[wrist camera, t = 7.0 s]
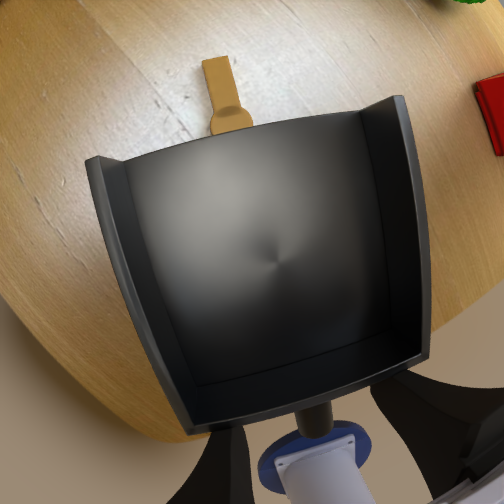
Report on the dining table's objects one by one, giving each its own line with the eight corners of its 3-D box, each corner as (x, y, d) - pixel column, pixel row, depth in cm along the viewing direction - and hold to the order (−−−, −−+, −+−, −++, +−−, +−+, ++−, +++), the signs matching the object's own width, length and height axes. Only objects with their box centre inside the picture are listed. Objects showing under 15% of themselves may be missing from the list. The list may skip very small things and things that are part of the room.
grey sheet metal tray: (395, 370, 14) (424, 401, 11) (207, 428, 13) (208, 472, 10) (363, 111, 11) (403, 94, 8) (115, 165, 10) (83, 160, 7)
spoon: (256, 141, 16) (257, 140, 15) (215, 151, 15) (215, 149, 15) (234, 57, 14) (234, 53, 14) (194, 66, 14) (194, 62, 14)
